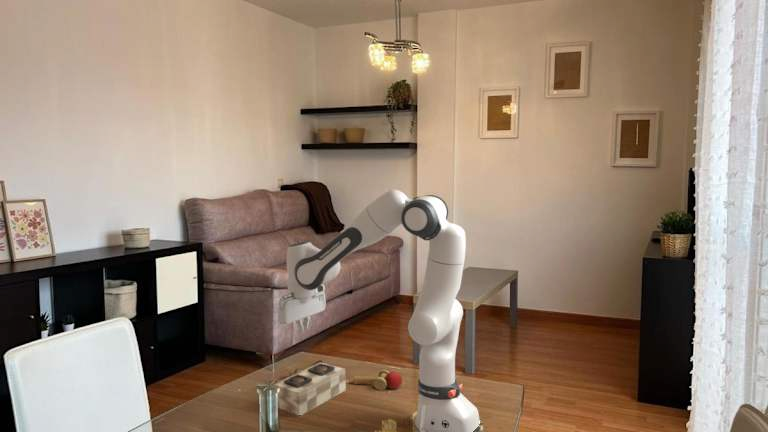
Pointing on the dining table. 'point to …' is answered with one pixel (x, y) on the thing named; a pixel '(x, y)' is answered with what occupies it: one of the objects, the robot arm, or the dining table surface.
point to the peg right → (321, 368)
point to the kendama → (381, 380)
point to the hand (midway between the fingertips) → (303, 330)
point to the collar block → (311, 388)
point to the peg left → (298, 380)
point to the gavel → (294, 370)
